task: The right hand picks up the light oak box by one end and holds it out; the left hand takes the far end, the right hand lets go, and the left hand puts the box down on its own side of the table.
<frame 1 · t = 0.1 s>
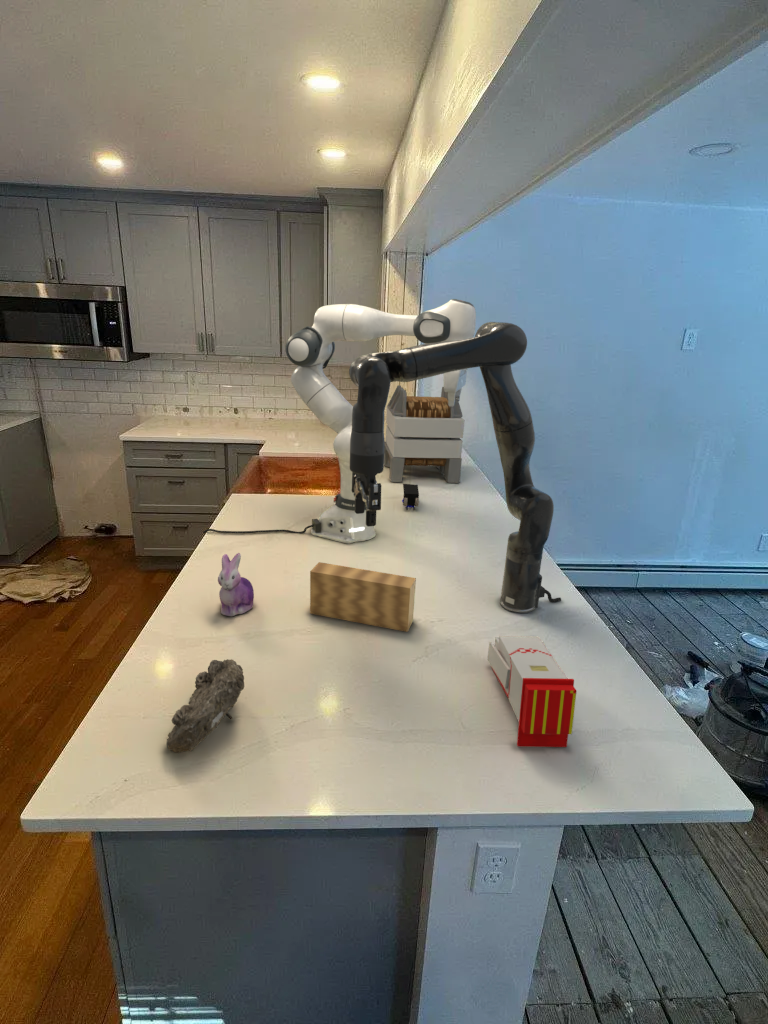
left hand: (453, 403, 174), 48 cm above the counter, tool pointing down, fingers open, 8 cm apart
right hand: (364, 519, 130), 29 cm above the counter, tool pointing down, fingers open, 8 cm apart
toy: (522, 699, 117), on the counter
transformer: (419, 473, 275), on the counter
box: (361, 616, 145), on the counter
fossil: (212, 717, 108), on the counter
figurine character: (410, 506, 228), on the counter
figurine: (237, 608, 147), on the counter
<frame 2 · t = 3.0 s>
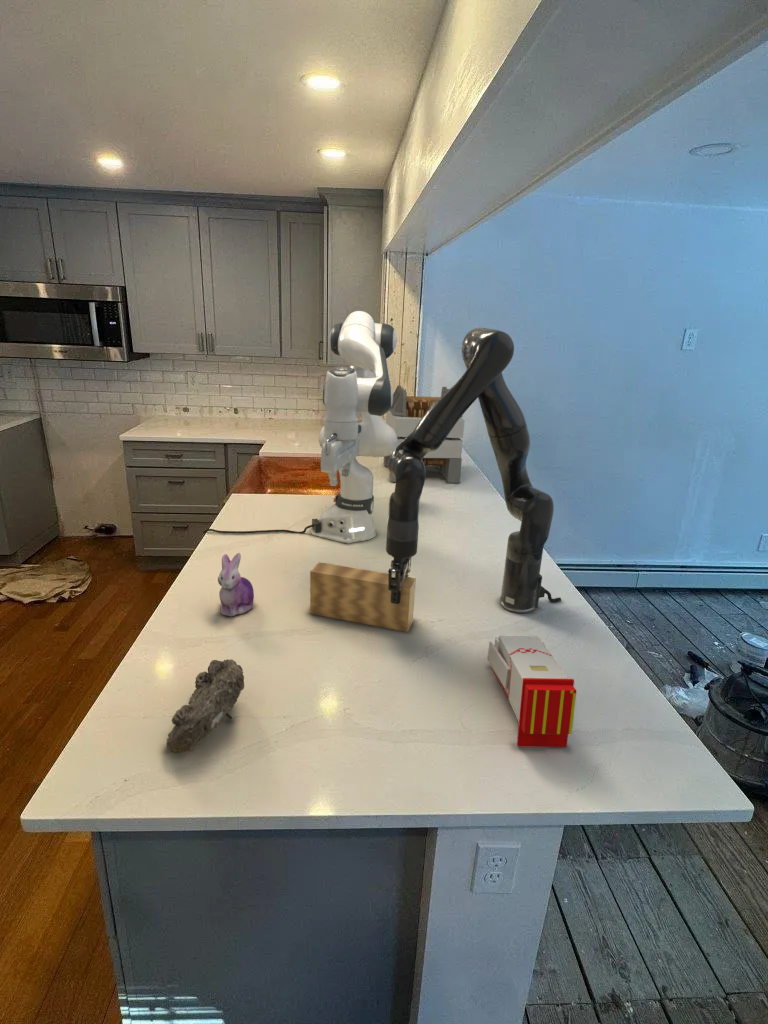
left hand: (339, 480, 154), 30 cm above the counter, tool pointing down, fingers open, 8 cm apart
right hand: (398, 596, 140), 8 cm above the counter, tool pointing down, fingers closed on box, 6 cm apart
box: (361, 616, 145), on the counter, touching right hand
everything else where it was.
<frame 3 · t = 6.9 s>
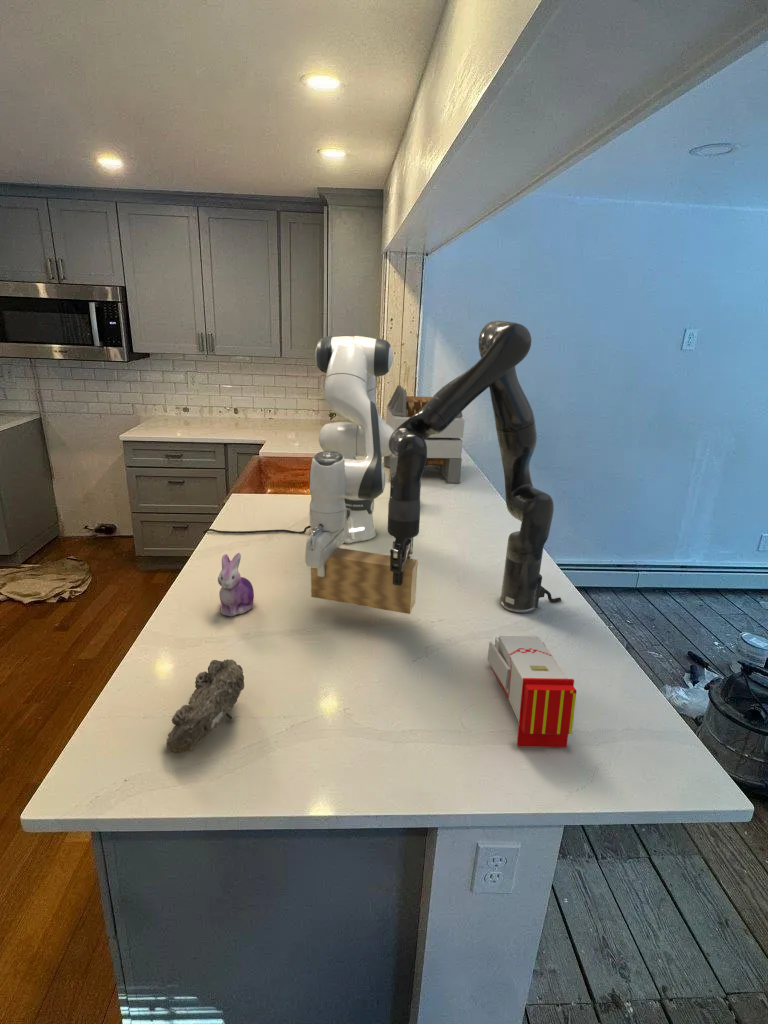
left hand: (327, 569, 144), 12 cm above the counter, tool pointing down, fingers closed on box, 6 cm apart
right hand: (400, 578, 139), 13 cm above the counter, tool pointing down, fingers closed on box, 6 cm apart
box: (363, 599, 144), point 5 cm above the counter, touching left hand, right hand
everything else where it was.
when the left hand's fingers open (8 cm above the counter, at t = 15.1 s): box stays where it is, on the counter.
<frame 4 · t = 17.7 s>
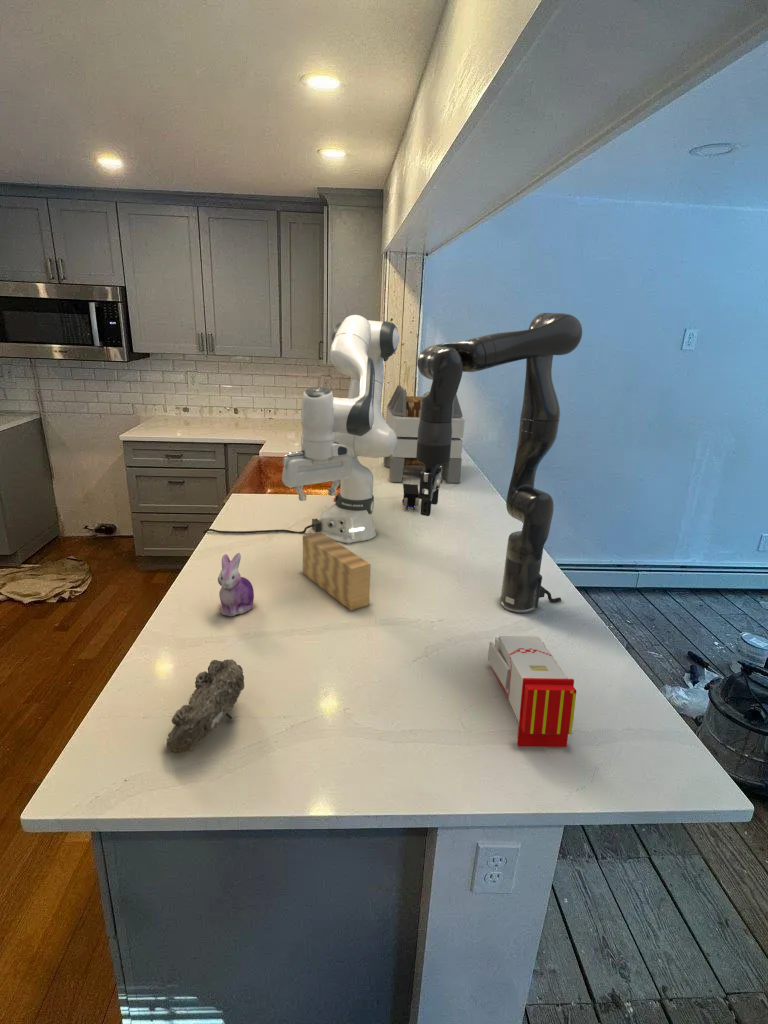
left hand: (317, 497, 158), 24 cm above the counter, tool pointing down, fingers open, 8 cm apart
right hand: (429, 509, 131), 31 cm above the counter, tool pointing down, fingers open, 8 cm apart
box: (334, 588, 159), on the counter
everything else where it was.
at the end: box inside the target area (9.3 cm from its centre), on the counter; the left hand is holding nothing; the right hand is holding nothing; box at rest at the end (0.0 cm/s) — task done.
